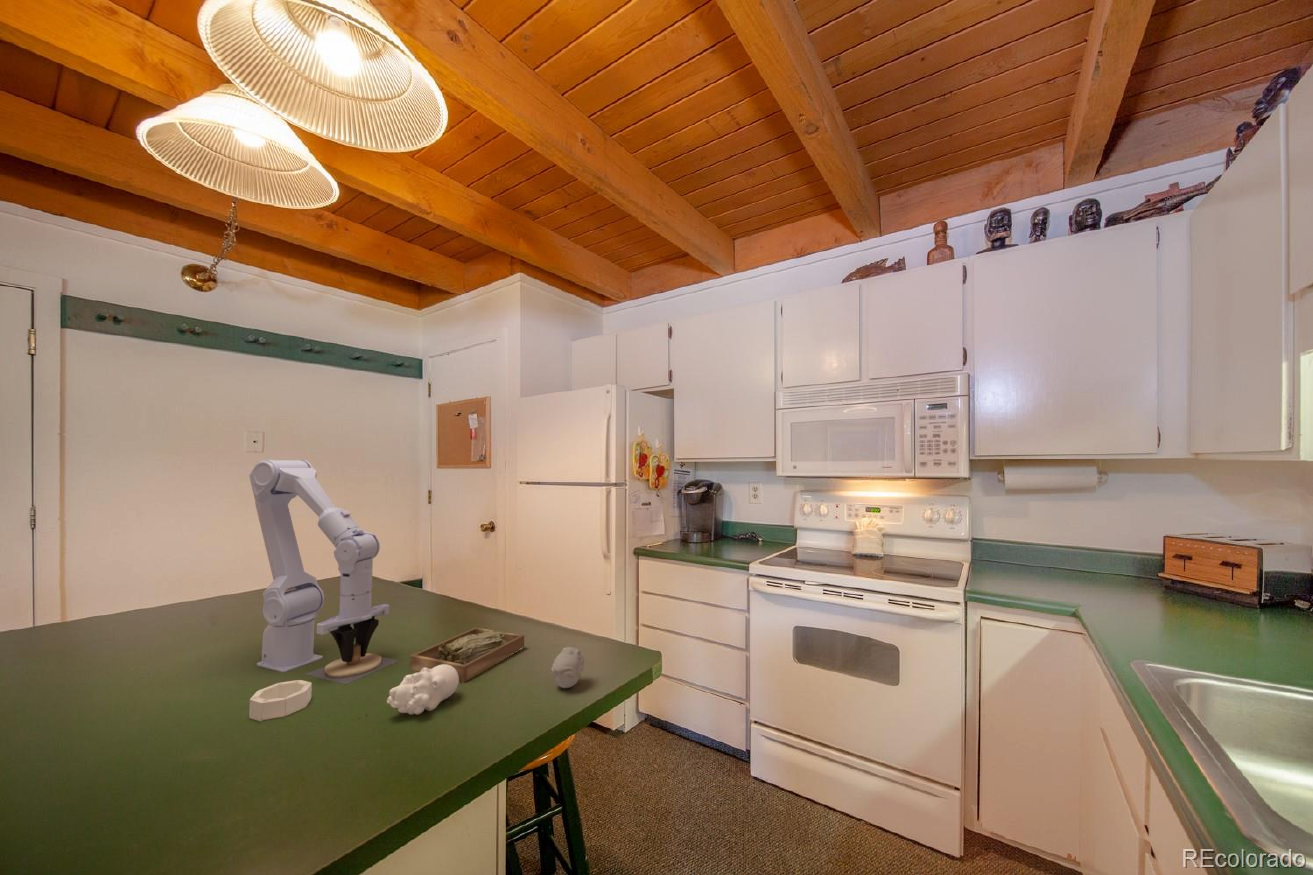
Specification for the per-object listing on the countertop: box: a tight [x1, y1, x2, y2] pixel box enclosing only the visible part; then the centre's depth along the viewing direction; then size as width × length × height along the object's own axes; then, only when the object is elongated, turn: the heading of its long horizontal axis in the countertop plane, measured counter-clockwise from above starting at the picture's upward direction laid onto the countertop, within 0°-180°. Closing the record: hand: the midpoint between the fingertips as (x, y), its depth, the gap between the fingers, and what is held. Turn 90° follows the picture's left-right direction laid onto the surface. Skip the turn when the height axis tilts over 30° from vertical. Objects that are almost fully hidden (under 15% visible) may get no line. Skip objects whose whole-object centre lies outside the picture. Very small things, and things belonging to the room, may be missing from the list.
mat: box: [304, 656, 400, 685], centre depth 100 cm, size 12×12×1 cm
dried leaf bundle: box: [437, 629, 506, 665], centre depth 105 cm, size 14×10×5 cm, turn 138°
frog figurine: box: [550, 646, 585, 689], centre depth 92 cm, size 6×7×7 cm
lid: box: [324, 643, 382, 677], centre depth 100 cm, size 10×10×4 cm
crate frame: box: [409, 627, 525, 683], centre depth 105 cm, size 15×19×3 cm
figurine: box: [386, 664, 459, 716], centre depth 84 cm, size 7×7×12 cm
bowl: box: [248, 679, 313, 722], centre depth 84 cm, size 8×8×3 cm
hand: (353, 658), depth 100 cm, fingers closed on lid, 2 cm apart
